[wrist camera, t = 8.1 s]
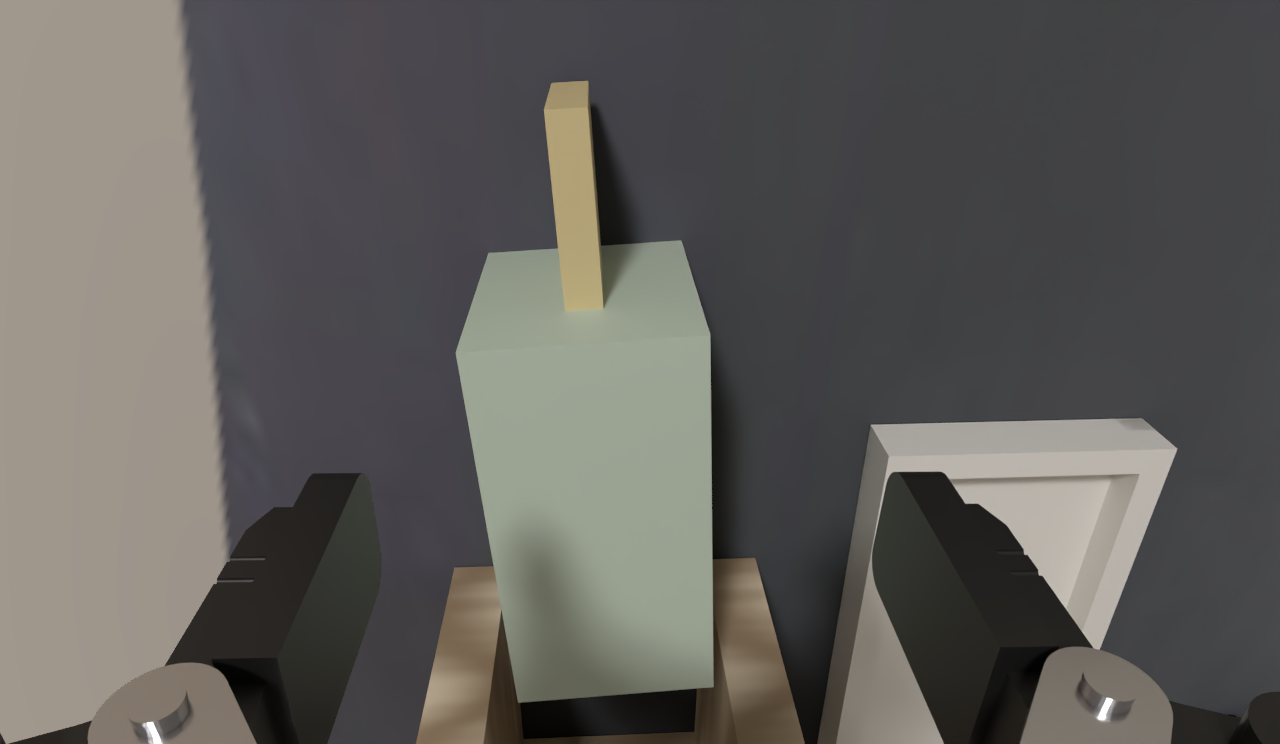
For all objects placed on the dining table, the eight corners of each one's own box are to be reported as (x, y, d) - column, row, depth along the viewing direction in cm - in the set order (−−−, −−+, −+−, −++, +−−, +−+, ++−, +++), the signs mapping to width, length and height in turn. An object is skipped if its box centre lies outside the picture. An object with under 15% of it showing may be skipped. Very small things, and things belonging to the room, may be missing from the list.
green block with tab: (676, 70, 23) (708, 117, 17) (688, 538, 31) (713, 687, 25) (464, 83, 23) (416, 135, 16) (532, 550, 31) (518, 702, 24)
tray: (1141, 418, 29) (1177, 449, 27) (1015, 773, 38) (1036, 812, 37) (870, 424, 29) (889, 456, 27) (810, 782, 38) (821, 823, 36)
